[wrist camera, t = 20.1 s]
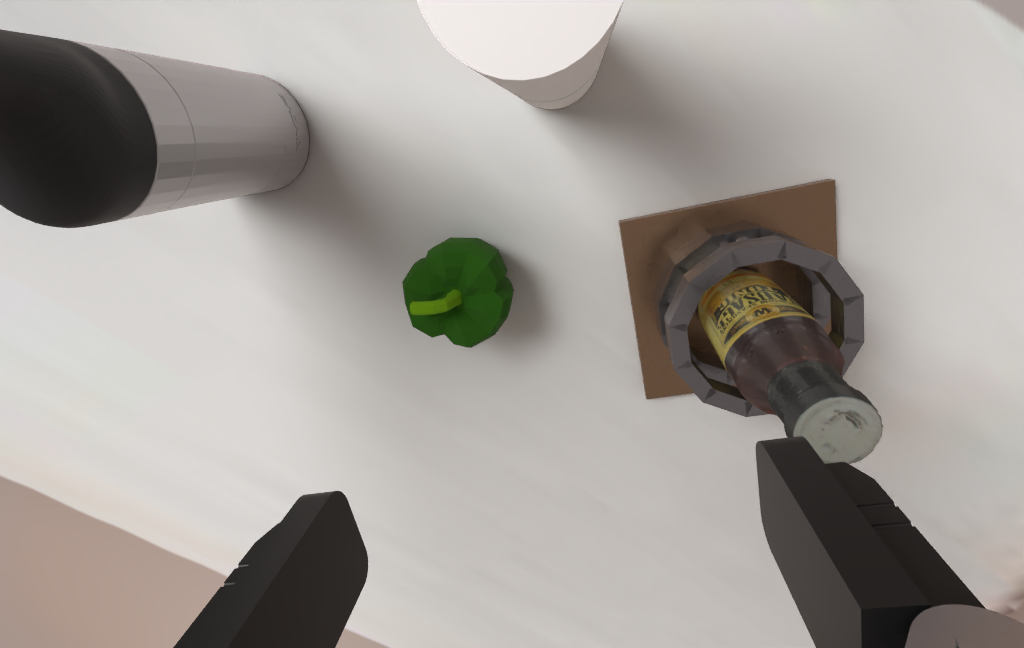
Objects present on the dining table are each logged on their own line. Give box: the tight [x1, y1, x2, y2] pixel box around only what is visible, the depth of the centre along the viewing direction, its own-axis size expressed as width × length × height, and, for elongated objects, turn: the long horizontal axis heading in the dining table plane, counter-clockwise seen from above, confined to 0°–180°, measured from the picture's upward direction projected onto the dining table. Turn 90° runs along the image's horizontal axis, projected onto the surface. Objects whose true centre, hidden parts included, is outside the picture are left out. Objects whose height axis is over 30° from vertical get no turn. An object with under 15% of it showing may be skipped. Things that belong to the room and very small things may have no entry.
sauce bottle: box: [698, 268, 883, 464], centre depth 35 cm, size 6×6×20 cm
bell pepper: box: [402, 238, 514, 347], centre depth 42 cm, size 8×8×10 cm
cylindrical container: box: [417, 0, 624, 109], centre depth 28 cm, size 7×7×25 cm
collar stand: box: [619, 179, 864, 417], centre depth 40 cm, size 16×16×9 cm
